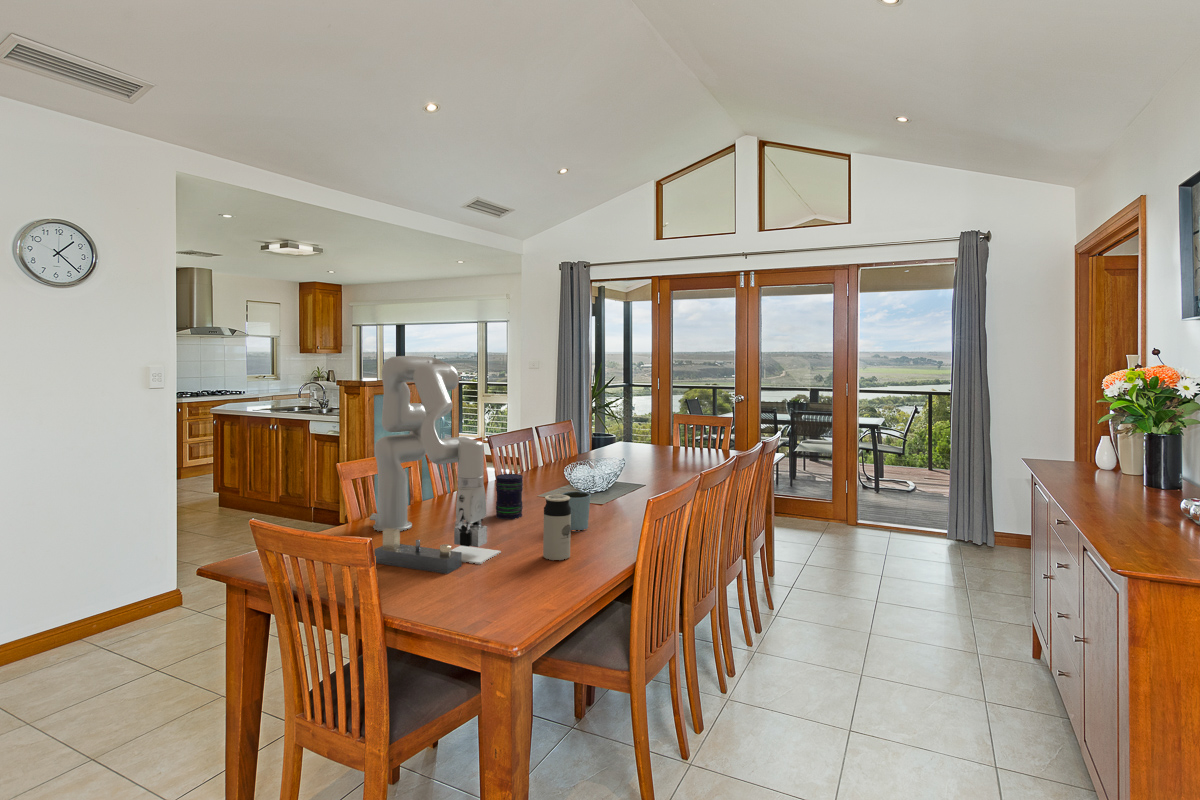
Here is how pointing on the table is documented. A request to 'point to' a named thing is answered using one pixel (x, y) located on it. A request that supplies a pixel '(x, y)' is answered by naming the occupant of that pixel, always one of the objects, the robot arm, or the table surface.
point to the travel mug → (557, 527)
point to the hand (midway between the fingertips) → (470, 542)
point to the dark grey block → (416, 555)
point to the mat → (475, 554)
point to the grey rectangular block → (473, 535)
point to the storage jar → (509, 496)
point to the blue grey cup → (579, 509)
